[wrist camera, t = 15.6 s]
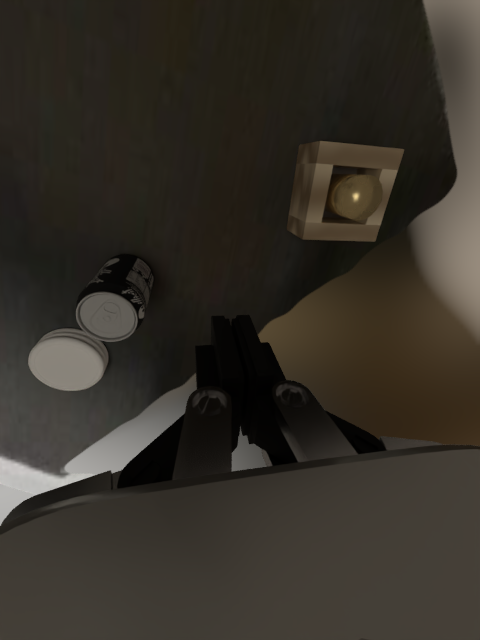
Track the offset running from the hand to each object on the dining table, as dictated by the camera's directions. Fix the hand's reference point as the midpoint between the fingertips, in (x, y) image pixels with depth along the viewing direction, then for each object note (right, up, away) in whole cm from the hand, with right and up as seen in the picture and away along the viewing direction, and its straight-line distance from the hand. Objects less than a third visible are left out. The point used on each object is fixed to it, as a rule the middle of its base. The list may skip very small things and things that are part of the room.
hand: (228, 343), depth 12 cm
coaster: (-26, -4, +30) cm, 40 cm away
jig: (+12, +18, +24) cm, 32 cm away
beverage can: (-15, +7, +25) cm, 30 cm away
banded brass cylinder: (+12, +18, +23) cm, 31 cm away
